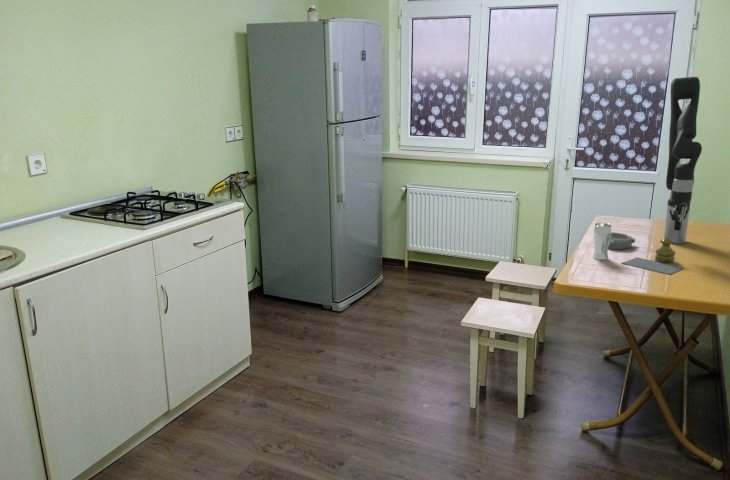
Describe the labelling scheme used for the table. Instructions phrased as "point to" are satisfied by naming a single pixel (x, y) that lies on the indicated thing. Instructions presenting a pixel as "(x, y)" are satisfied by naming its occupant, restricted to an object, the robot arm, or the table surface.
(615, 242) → the dish
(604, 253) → the beer glass
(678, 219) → the robot arm
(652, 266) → the mat
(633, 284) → the table surface
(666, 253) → the brass door knob
